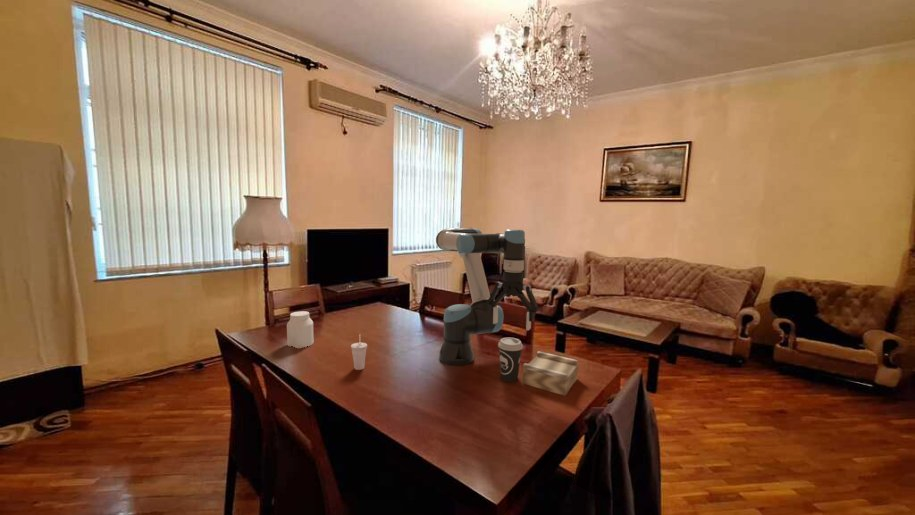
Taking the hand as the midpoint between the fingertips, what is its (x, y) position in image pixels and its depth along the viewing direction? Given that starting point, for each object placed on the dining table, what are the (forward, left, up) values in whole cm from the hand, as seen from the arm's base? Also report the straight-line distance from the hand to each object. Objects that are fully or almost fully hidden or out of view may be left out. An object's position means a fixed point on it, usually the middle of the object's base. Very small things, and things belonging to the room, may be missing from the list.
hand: (511, 326), depth 132 cm
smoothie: (-54, -27, -21) cm, 64 cm away
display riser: (+14, +7, -21) cm, 26 cm away
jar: (-97, -25, -21) cm, 103 cm away
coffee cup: (0, 0, -21) cm, 21 cm away
